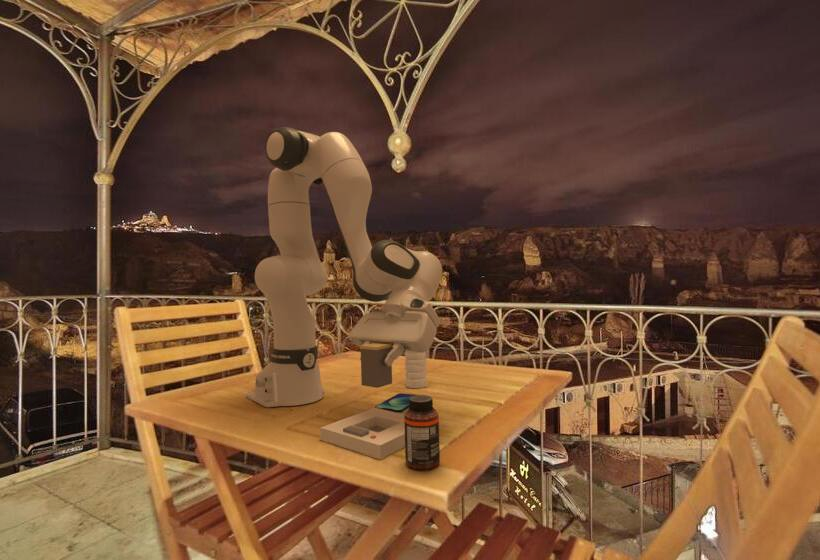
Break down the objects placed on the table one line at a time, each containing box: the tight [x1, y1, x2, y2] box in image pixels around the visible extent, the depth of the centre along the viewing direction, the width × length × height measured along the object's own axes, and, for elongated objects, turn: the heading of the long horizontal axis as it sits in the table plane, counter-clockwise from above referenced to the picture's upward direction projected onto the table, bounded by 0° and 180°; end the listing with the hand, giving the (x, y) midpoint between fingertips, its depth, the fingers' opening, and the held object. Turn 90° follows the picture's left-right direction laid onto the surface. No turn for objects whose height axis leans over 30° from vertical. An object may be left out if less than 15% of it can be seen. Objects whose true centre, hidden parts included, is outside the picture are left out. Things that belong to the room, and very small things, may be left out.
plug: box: [359, 343, 393, 389], centre depth 84 cm, size 5×5×8 cm
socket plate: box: [319, 407, 405, 460], centre depth 84 cm, size 16×16×3 cm
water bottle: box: [404, 302, 433, 389], centre depth 125 cm, size 9×6×25 cm
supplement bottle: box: [403, 394, 441, 471], centre depth 71 cm, size 6×6×11 cm
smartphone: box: [374, 392, 417, 414], centre depth 107 cm, size 8×1×15 cm
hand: (374, 363), depth 84 cm, fingers closed on plug, 4 cm apart
